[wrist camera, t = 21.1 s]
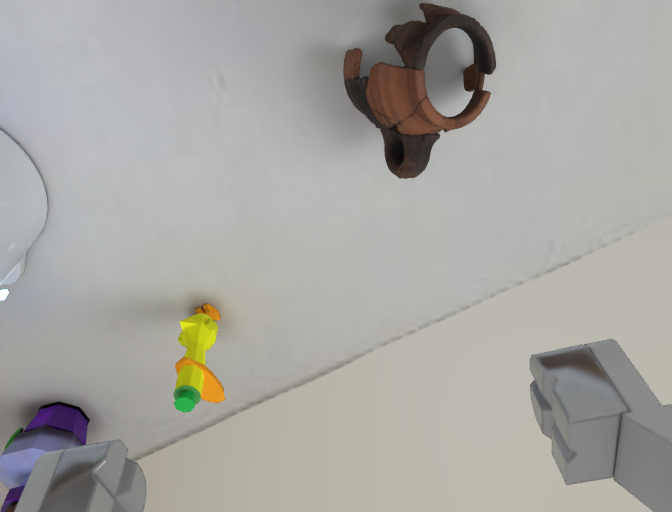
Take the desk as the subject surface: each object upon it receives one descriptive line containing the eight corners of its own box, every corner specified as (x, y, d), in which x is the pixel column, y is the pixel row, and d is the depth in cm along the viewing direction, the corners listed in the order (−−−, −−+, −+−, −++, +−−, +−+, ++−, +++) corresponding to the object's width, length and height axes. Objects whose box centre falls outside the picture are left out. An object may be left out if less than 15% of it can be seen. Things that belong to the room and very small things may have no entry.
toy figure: (244, 328, 56) (234, 426, 46) (214, 343, 57) (199, 443, 47) (201, 282, 52) (181, 378, 42) (171, 299, 53) (144, 397, 43)
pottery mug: (333, 6, 40) (405, -4, 33) (435, 11, 45) (516, 4, 38) (333, 174, 44) (397, 195, 37) (427, 162, 49) (499, 179, 42)
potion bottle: (12, 391, 58) (-43, 497, 48) (99, 393, 59) (62, 497, 50) (28, 443, 63) (-20, 550, 53) (108, 445, 64) (75, 549, 54)
